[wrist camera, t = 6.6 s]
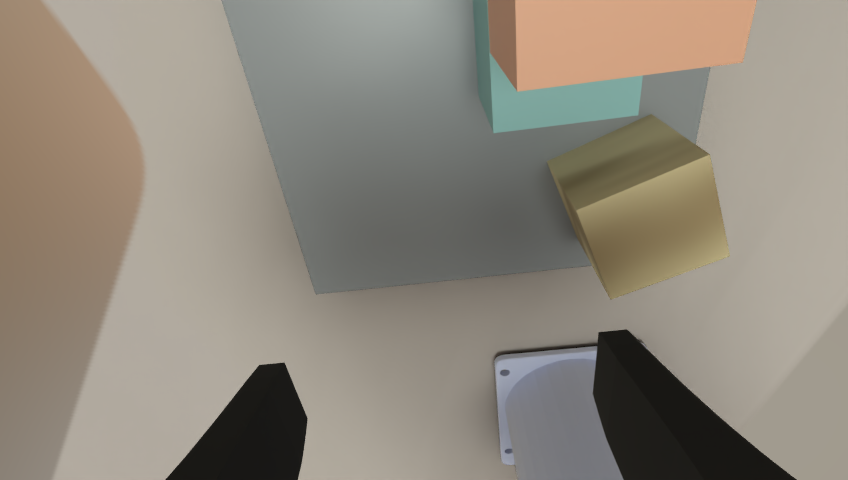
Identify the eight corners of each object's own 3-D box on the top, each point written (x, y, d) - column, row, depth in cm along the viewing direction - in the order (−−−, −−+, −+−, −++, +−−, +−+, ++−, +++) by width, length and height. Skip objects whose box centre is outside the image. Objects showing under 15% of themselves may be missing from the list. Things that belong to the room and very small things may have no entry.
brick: (673, 201, 19) (729, 256, 15) (577, 239, 20) (610, 299, 16) (651, 113, 17) (710, 154, 13) (546, 161, 18) (576, 210, 14)
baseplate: (661, 242, 21) (673, 256, 20) (320, 278, 22) (315, 294, 21) (786, -487, 11) (825, -533, 10) (127, -352, 12) (99, -382, 11)
